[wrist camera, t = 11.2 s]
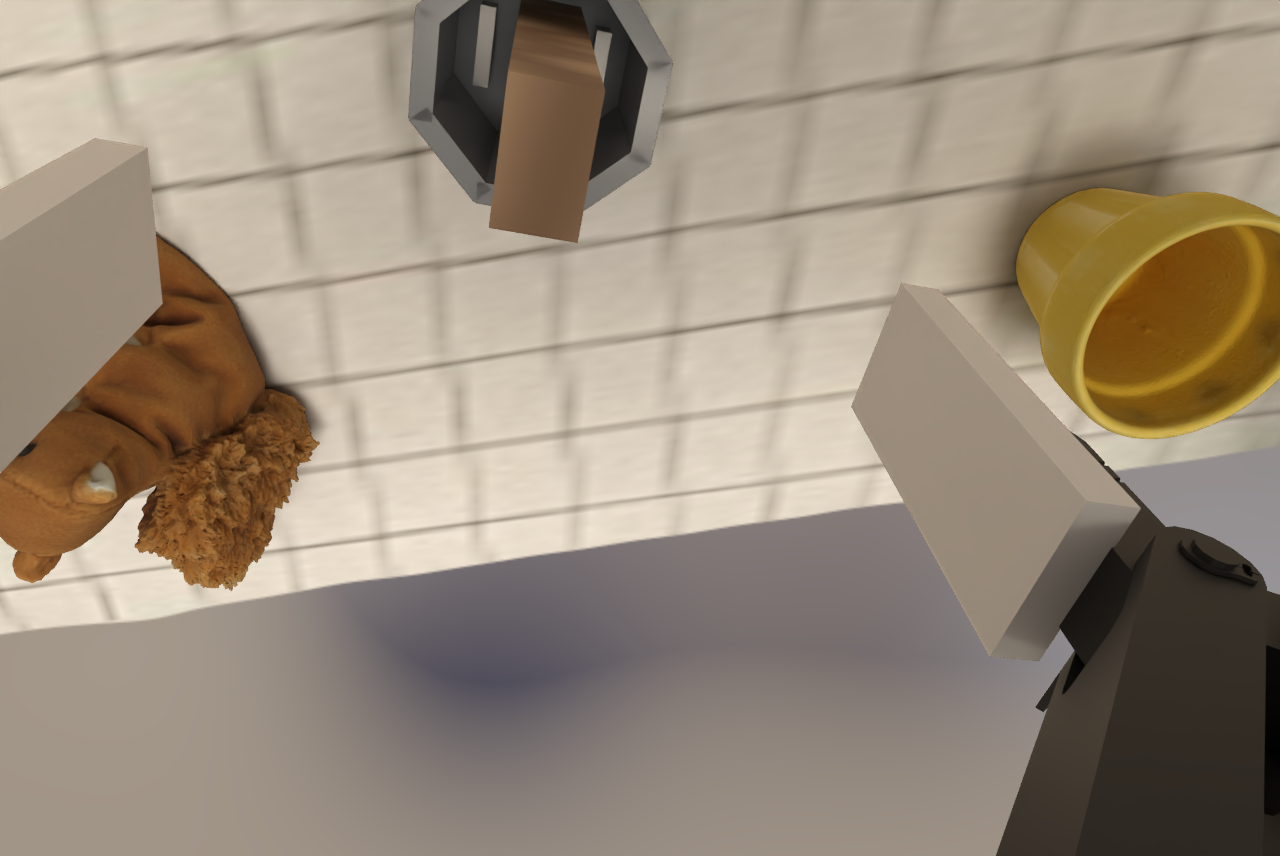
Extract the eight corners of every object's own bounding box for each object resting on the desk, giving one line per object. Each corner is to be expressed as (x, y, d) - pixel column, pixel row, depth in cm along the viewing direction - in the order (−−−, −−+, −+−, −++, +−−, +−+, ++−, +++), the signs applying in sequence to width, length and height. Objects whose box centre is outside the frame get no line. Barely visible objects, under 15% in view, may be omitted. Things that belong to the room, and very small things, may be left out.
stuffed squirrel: (138, 211, 38) (-33, 348, 27) (380, 409, 44) (323, 583, 33) (13, 342, 40) (-187, 514, 29) (258, 509, 47) (169, 701, 36)
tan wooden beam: (581, 7, 34) (604, 90, 21) (565, 108, 36) (577, 242, 23) (522, -7, 34) (508, 70, 20) (509, 96, 36) (488, 227, 22)
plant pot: (938, 247, 42) (1032, 336, 34) (1129, 100, 39) (1283, 159, 31) (1032, 375, 47) (1133, 480, 39) (1208, 253, 43) (1359, 339, 35)
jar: (663, -39, 34) (690, -19, 27) (621, 170, 38) (636, 231, 32) (448, -91, 32) (420, -84, 26) (430, 133, 37) (403, 190, 30)
